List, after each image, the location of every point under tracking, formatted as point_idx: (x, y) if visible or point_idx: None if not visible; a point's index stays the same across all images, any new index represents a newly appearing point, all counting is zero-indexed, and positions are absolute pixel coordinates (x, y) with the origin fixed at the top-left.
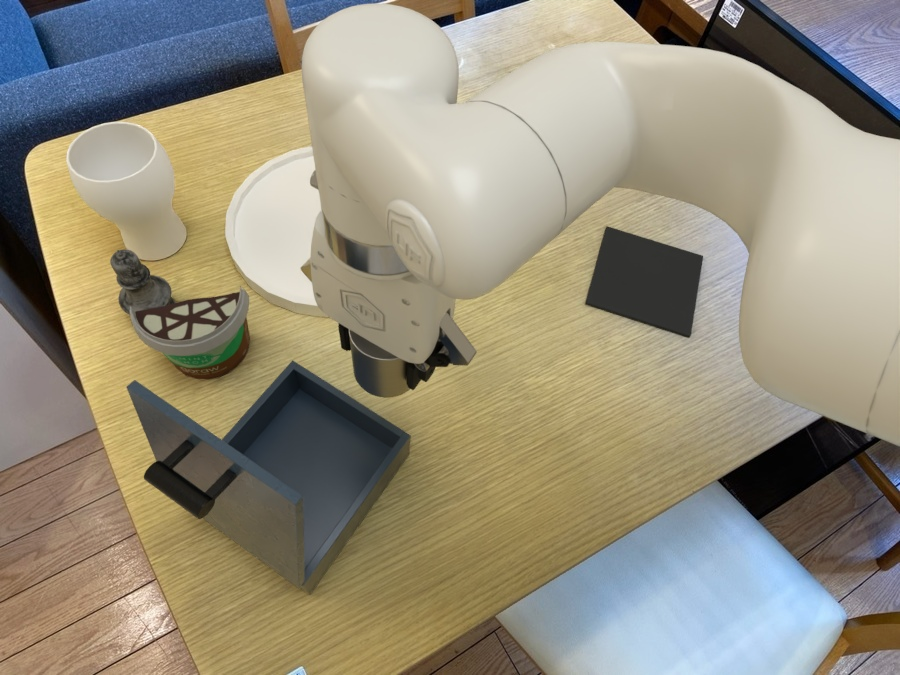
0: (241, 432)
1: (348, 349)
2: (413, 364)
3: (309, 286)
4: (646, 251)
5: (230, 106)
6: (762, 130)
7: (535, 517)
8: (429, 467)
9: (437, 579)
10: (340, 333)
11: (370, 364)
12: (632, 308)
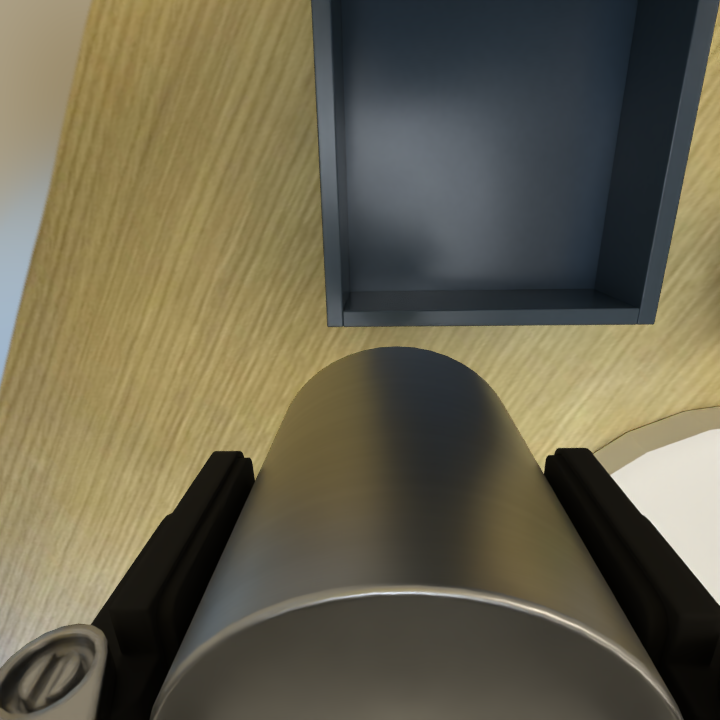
0: (667, 107)
1: (556, 461)
2: (139, 631)
3: (695, 469)
4: None
5: None
6: None
7: (105, 329)
8: (295, 301)
9: (157, 137)
10: (659, 548)
11: (362, 502)
12: None
